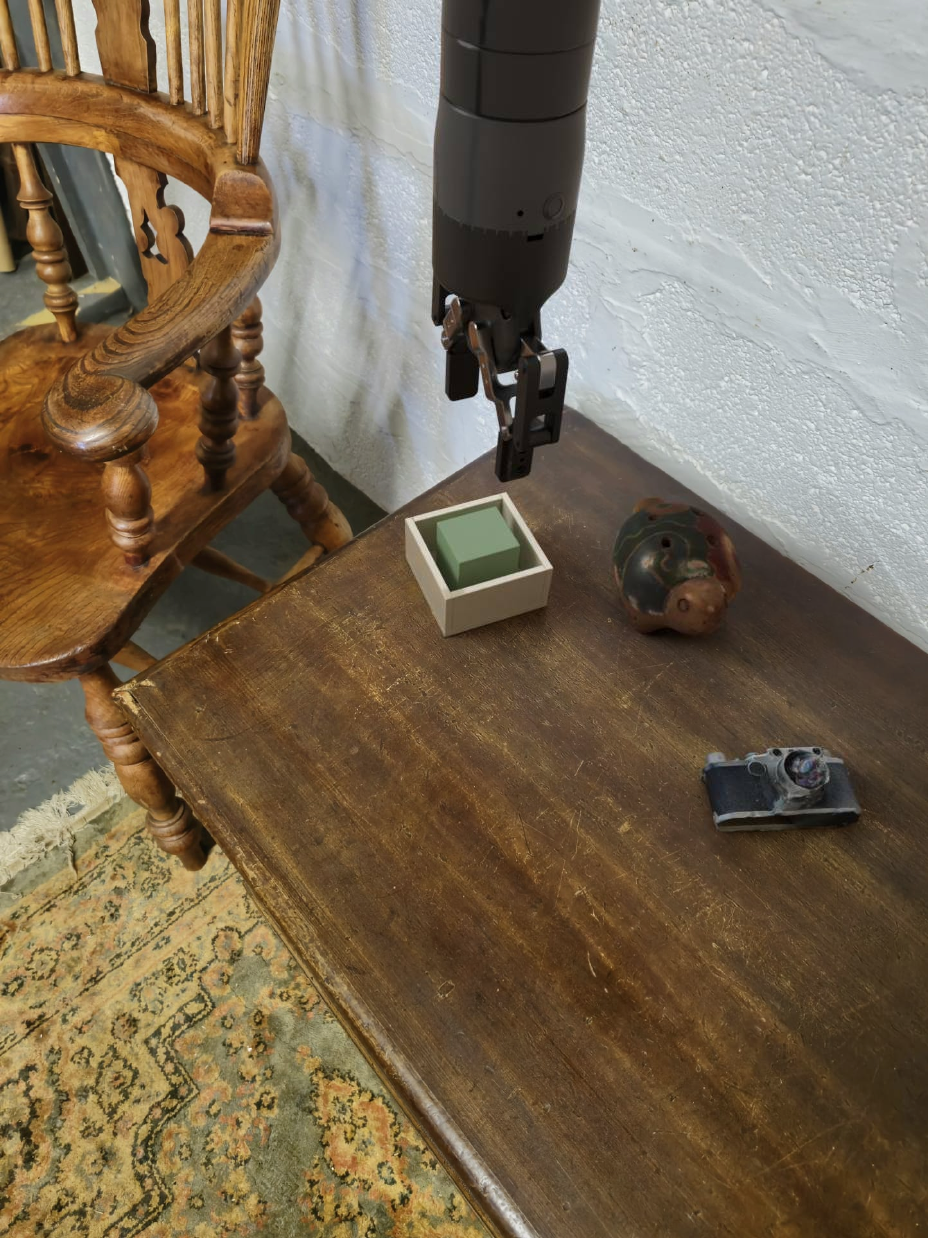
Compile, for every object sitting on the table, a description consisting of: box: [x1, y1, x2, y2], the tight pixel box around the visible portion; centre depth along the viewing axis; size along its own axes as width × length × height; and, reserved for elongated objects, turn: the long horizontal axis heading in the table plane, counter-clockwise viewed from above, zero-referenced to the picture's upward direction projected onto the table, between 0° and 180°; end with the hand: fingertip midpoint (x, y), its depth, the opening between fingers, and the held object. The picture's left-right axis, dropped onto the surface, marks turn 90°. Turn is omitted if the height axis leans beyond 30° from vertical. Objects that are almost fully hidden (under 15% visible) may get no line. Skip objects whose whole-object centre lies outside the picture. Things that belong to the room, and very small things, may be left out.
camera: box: [699, 746, 863, 833], centre depth 56 cm, size 5×10×4 cm, turn 93°
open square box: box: [404, 491, 554, 638], centre depth 66 cm, size 9×9×5 cm
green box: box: [436, 507, 520, 593], centre depth 66 cm, size 5×4×5 cm
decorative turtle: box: [611, 496, 742, 636], centre depth 65 cm, size 10×15×8 cm, turn 12°
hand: (485, 435), depth 56 cm, fingers open, 8 cm apart
